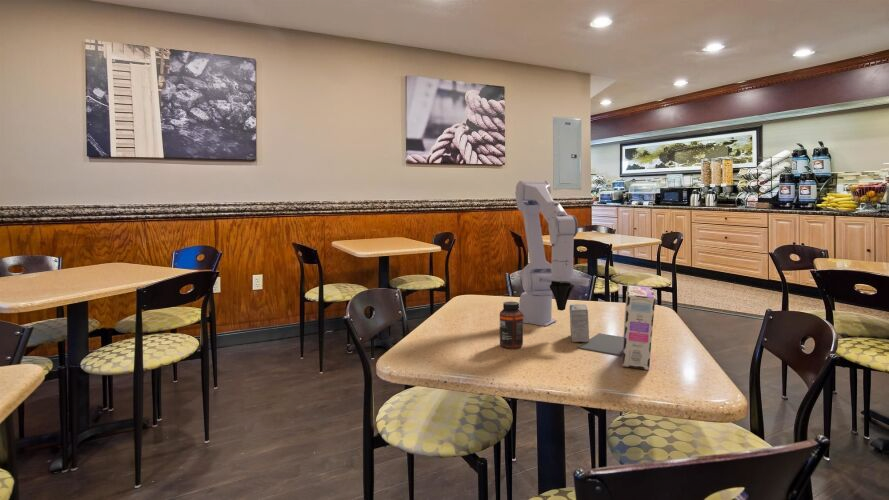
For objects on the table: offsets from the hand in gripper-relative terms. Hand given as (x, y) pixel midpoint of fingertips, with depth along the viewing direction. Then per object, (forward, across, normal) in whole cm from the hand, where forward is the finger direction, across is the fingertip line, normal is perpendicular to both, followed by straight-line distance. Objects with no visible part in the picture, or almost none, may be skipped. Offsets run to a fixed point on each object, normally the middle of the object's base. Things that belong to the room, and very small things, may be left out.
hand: (561, 309), depth 135 cm
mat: (+7, +13, 0) cm, 15 cm away
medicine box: (+7, +5, 0) cm, 9 cm away
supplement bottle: (+8, -7, -16) cm, 19 cm away
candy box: (+8, +22, -9) cm, 25 cm away
